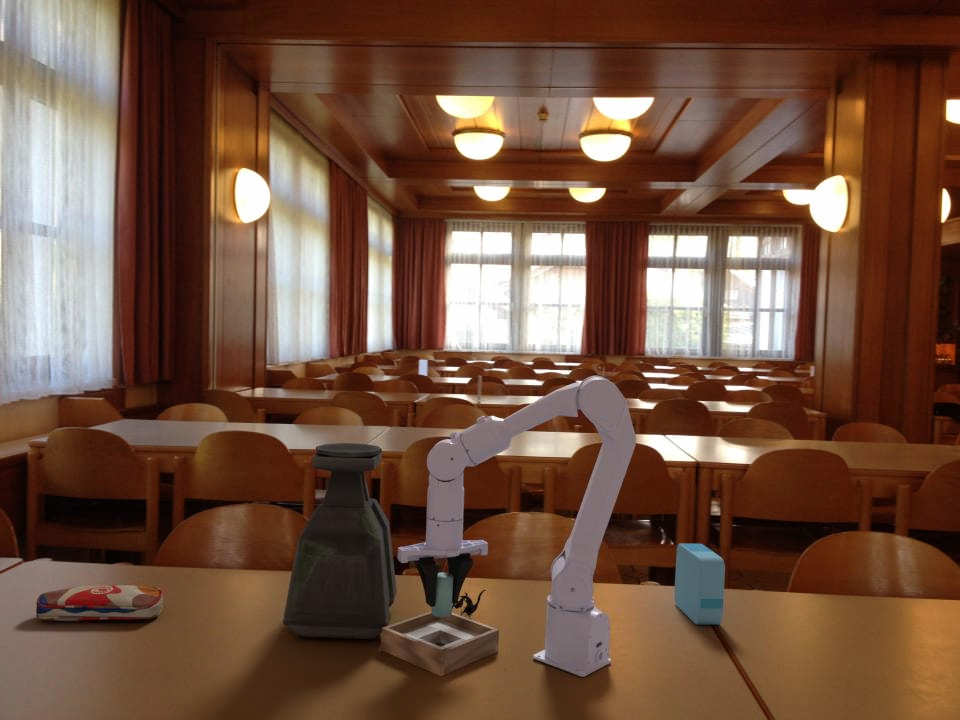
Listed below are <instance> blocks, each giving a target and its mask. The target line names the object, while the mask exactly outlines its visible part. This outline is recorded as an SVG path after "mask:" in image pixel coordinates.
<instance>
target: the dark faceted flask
mask: <svg viewBox="0 0 960 720" xmlns="http://www.w3.org/2000/svg"><path fill="white" fill-rule="evenodd" d="M315 451H316V452H315V454H313V455H312V456H311V468H314V469H316V470H317V469H318V470H322V471H327V472H330V475H329V480H328V484H327V487H326V491H325V495H324V498H323V500H322V501H321V503H320V504H318V505H317V506H316V508H315V509H314V510H313V512H312V514H311V516H310V518H308V520H307V523H306V524H305V526H304V527H303V529H302V530H301V533H300V534H299V536H298V538H297V543H296V546H295V547H296V548H295V551H294V552H295V554H294V558H293V563H292V568H291V569H292V570H291V575H290V580H289V585H288V592H287V596H286V602H285V609H284V613H283V619H282V625H284V627H285V626H286V628H288V629H289V630H290V631H291V632H292V633H294V634H295V635H296V636H298V637H300V638H301V637H302V638H322V639H323V638H324V639H326V638H328V639H350V640H351V639H353V640H375V639H376V638H377V637H378V635H380V634H382V628H383V627H386V626H388V622H389V619H390V617H391V616H390V615H391V614H390V613H391V612H390V608H391V607H392V605H393V604H394V602H395V598H396V596H397V592H398V591H397V582H396V581H397V580H396V574H395V563H394V554H393V552H394V551H393V545H392V536H391V535H392V534H391V525H390V521H389V519H388V518H387V515H386V514H385V512H384V510H383V508H382V507H381V506H380V504H379V502H378V500H377V499H375V498H372V497H371V498H370V493H369V487H368V484H367V483H368V482H367V478H366V472H370V471H374V470H375V469H376V468H377V467H378V465H379V464H380V462H381V461H382V459H383V457H382V454H383V453H382V452H383V449H382V448H381V447H380V446H379V445H375V444H368V443H354V442H351V443H349V442H339V443H338V442H337V443H324V444H322V445H321V444H320V445H317V446H315Z"/></svg>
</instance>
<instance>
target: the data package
mask: <svg viewBox="0 0 960 720" xmlns="http://www.w3.org/2000/svg"><path fill="white" fill-rule="evenodd" d="M675 559H676V561H675V576H674V578H675V579H674V603H675V605H676V607H677V608H678V609H679V610H680V611H681V612H682V613H683V614H685V616H687V617H688V618H689V619H690V620H691V621H692V623H693V624H695V625H707V626H708V625H721V624H722V622H723V617H724V616H723V614H724V599H725V598H724V596H725V594H724V593H725V592H724V591H725V575H726V574H725V573H726V565H725V562H724V559H723V558H722V557H721V556H720V555H719V554H717V553H716V552H714V551H713V550H712V549H710V548H709V547H707V546H706V545H704V544H703V543H678V544H677V547H676V558H675Z"/></svg>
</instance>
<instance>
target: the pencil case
mask: <svg viewBox="0 0 960 720" xmlns="http://www.w3.org/2000/svg"><path fill="white" fill-rule="evenodd" d="M163 603H164V598H163V590H162V589H160V588H159V587H156V586H145V585H143V586H142V585H141V586H140V585H127V584H126V585H123V584H122V585H118V584H117V585H116V584H115V585H98V584H97V585H87V586H86V585H85V586H76V587H69V588H63V589H62V588H61V589H57V590H51V591H46V592H43V593H41V594H39V595H38V597H37V599H36V610H35V613H36V615H35V617H36V618H38V619H41V620H43V621H54V622H55V621H56V622H82V621H90V620H94V621H96V620H97V621H102V620H121V621H122V620H125V621H126V620H149V619H154V618H155V617H156V618H157V617H158V616H159V615H160V614H161V612H162V611H163V608H164V605H163Z"/></svg>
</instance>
